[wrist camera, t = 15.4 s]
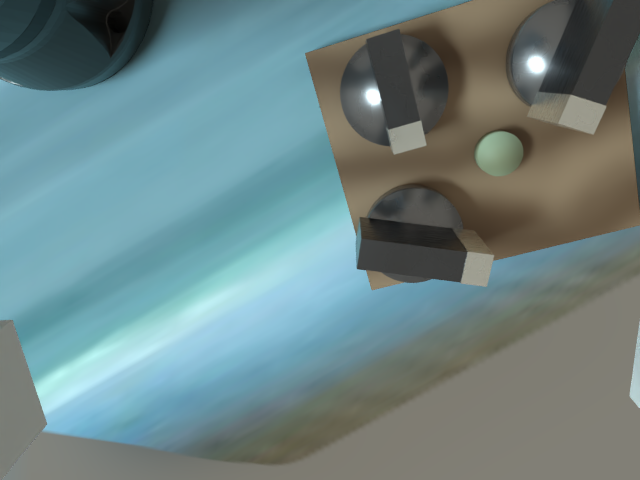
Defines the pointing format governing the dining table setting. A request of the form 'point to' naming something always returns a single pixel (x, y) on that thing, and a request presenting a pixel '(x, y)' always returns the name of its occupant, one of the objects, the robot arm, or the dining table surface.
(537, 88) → the knob
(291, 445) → the dining table surface
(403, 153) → the base
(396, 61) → the knob
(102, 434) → the dining table surface
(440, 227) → the knob
